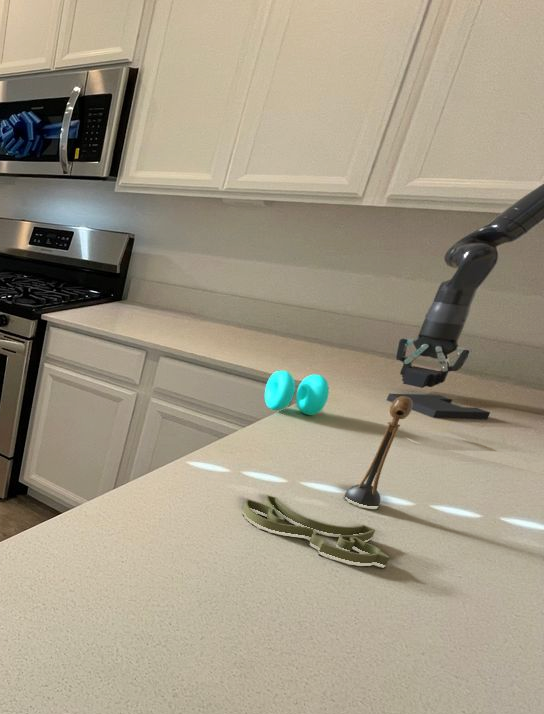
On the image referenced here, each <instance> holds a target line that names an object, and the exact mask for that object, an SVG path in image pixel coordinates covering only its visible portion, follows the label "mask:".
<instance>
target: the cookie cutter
mask: <svg viewBox="0 0 544 714" xmlns="http://www.w3.org/2000/svg"><path fill="white" fill-rule="evenodd" d="M273 505H274V506H273ZM243 508H244V513H245V514H246V516H247V517H248V518H249V519H251V520H252V521H254V522H255V523H257V524H259V525H261V526H263V527H266V528H268V529H271V530H275V531H279V532H285V533H291V534H298V535H305V536H309V537H311V539H310V542H311V543H312V544H314V545H316V546H318V547H319V548H320V550H319V551H320V552H324V553H326V554H329V555H332V556H335V557H338V558H341V559H345V560H349V561H353V562H360V563H372V562H377V563H380V564H383V565H386V566H387V565H388V562H389V560H390V556H389V555H388V554H386V553H384V552H383V551H381V549H380V548H379V547H377V546H375V545H374V544H371V543H369V542H368V543H366V542H364V541H365V540H368V539H370V538H371V537H372V538H373V537H374V534H375V532H376V529H375V528H372V527H370V526H368V525H365V524H361V525H355V526H343V525H342V526H341V525H334V524H329V523H324V522H320V521H317V520H314V519H311V518H308V517H306V516H304V515H301V514H300V513H297V512H295V511H294V510H292V509H290V508H289V507H287V506H286V505H285V504H283V503H282V502H281V501H280V500H279V499H278V497H276V496H272V495H268V494H266V496H265V499H264V502H263V503H261V502H258V501H256V500H252V499H249V498H247V499H246V500H245V503H244V506H243ZM250 508H252V509H255V510H258V511H260V512H263V513H265V514H267V519H266V518H265V517H262V516H260V515H258V514H256V513H255V512H253V511H252V510H251V509H250ZM277 510H278V511H280V512H281V513H282V514H283V515H285V516H286V517H288V518H290V519H292V520H293V521H295V522H297V523H300V524H302V525H304V526H307V527H310V528H307V527H301V526H295V525H293V524H285V523H284V522H285V521H286V520H285V518H284V517H283V516H282V515H281V514H280V513H279V512H278V511H277ZM311 528H313V529H311ZM314 529H316V530H319V531H323V532H327V533H333V534H341V535H340V537H339V538H337V539H338V540H337V541H336V544H337V545H338V546H339V547H341V548H344V549H347V550H351V552H349V551H345V550H342V549H339V548H336V547H335V546H332V545H330V544H327V543H326V540H325V539H323V538H322V537H320V536H317V534H316V533H317V532H316V531H315V530H314ZM359 533H363V534H359ZM353 534H358V535H353ZM353 546H355V547H357V548H358V549H360V550H362V551H365V552H368V553H370V554H359V553H357V552H354V551H352V547H353Z"/></svg>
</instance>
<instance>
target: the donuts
mask: <svg viewBox="0 0 544 714" xmlns="http://www.w3.org/2000/svg"><path fill="white" fill-rule="evenodd" d="M295 389H296V382H295V379H294V376H293V375H292V374H291V373H290V372H289V371H288V370H283V369H282V370H277V371H275V372H274V373H272V374H271V375H270V377H269V378H268V380H267V382H266V385H265V390H264V401H265V404H266V406H267V407H268V409H270V410H272V411H281V410H283V409H285V408H286V407H288V406H289V405H290V403H291V402H292V400H293V398H294V395H295V402H296V406H297V408H298V410H299V411H300V412H301V414H304V415H307V414H308V416H312V415H313V416H314V415H316V414H318V413H320V412H322V410H323V408H325V406H326V404H327V401H328V398H329V393H330V392H329V384H328V380H327V379H326V378H325V377H324V376H323V375H321V374H310V375H308V376H306V377H305V378H303V380H302V381H301V382H300V384H299V385H298V387H297V391H295ZM295 392H296V394H295Z"/></svg>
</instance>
